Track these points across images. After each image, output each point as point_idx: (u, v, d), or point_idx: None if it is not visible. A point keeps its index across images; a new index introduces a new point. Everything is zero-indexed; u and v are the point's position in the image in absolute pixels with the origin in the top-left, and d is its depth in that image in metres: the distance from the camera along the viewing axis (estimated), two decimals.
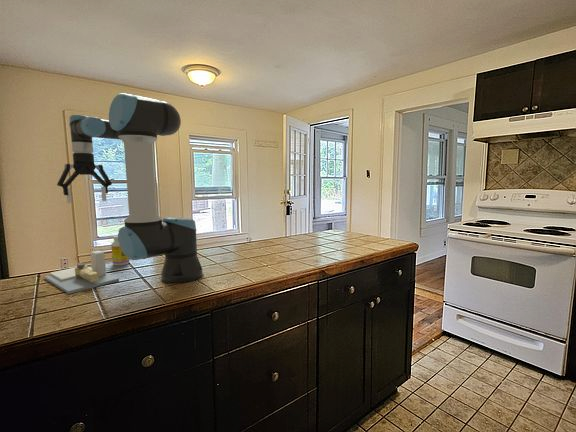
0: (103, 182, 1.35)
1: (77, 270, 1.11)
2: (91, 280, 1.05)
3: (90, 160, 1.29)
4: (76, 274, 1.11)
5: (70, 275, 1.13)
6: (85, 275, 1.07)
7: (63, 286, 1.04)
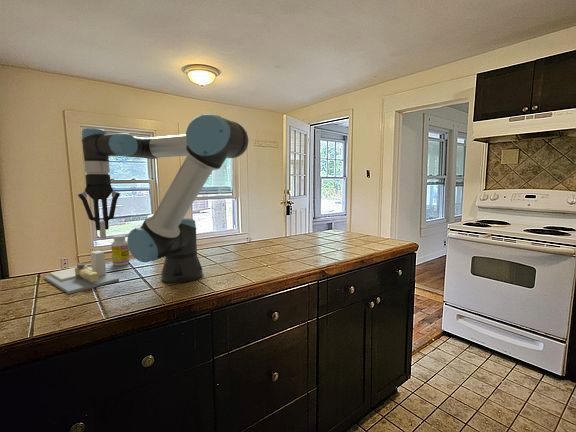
0: (105, 214, 1.08)
1: (77, 270, 1.11)
2: (91, 280, 1.05)
3: (104, 183, 1.05)
4: (76, 274, 1.11)
5: (70, 275, 1.13)
6: (85, 275, 1.07)
7: (63, 286, 1.04)
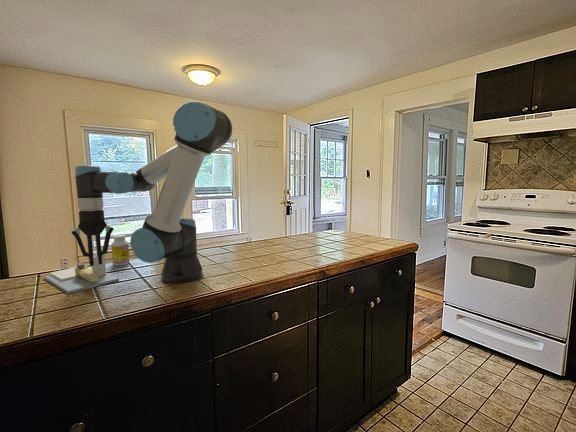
0: (99, 250, 1.08)
1: (77, 270, 1.11)
2: (91, 280, 1.05)
3: (97, 219, 1.05)
4: (76, 274, 1.11)
5: (70, 275, 1.13)
6: (85, 275, 1.07)
7: (63, 286, 1.04)
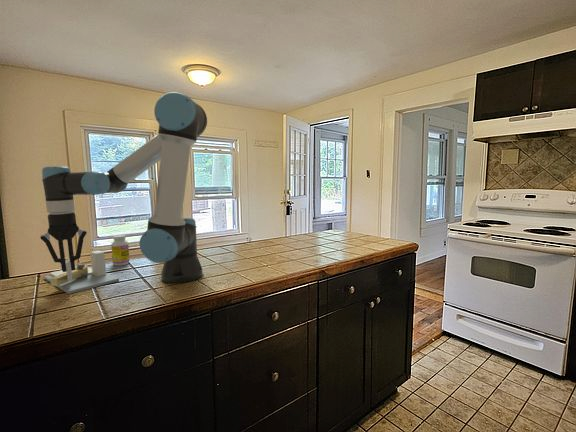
0: (71, 255, 1.03)
1: (75, 269, 1.12)
2: (51, 284, 1.01)
3: (68, 223, 1.00)
4: None
5: None
6: None
7: (63, 286, 1.04)
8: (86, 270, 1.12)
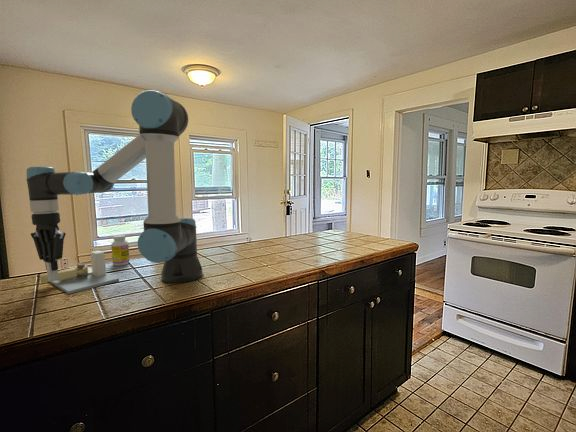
0: (49, 255, 1.02)
1: None
2: None
3: (38, 223, 0.99)
4: None
5: None
6: None
7: (63, 286, 1.04)
8: (82, 271, 1.11)
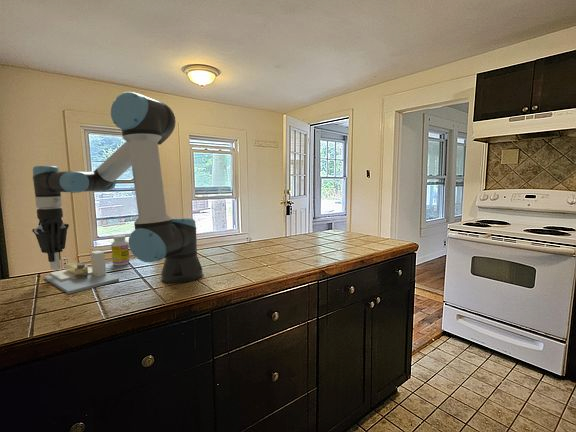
0: None
1: None
2: None
3: None
4: None
5: (70, 275, 1.13)
6: None
7: (63, 286, 1.04)
8: (75, 271, 1.11)
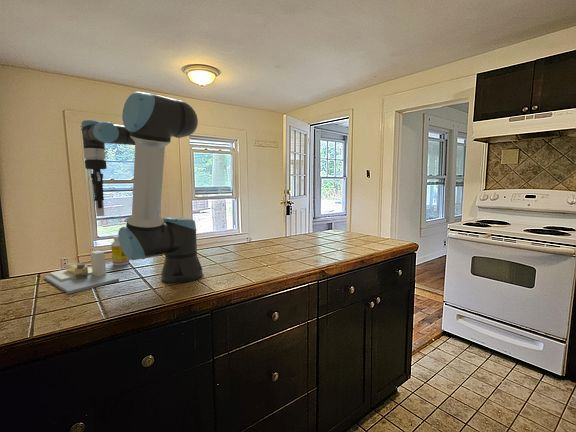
0: (95, 195, 1.24)
1: None
2: None
3: (86, 167, 1.21)
4: None
5: (70, 275, 1.13)
6: None
7: (63, 286, 1.04)
8: (75, 271, 1.11)
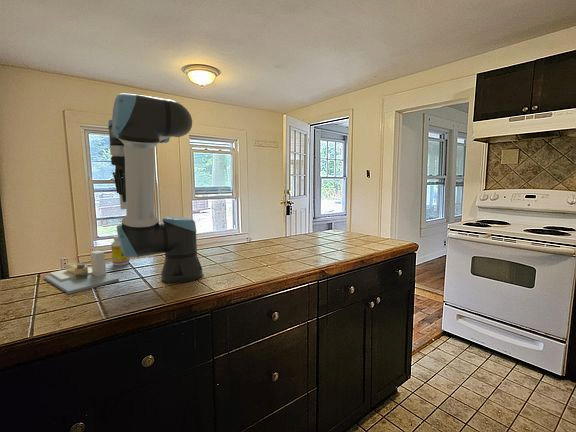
0: (121, 189, 1.33)
1: None
2: None
3: (114, 163, 1.30)
4: None
5: (70, 275, 1.13)
6: None
7: (63, 286, 1.04)
8: (75, 271, 1.11)
